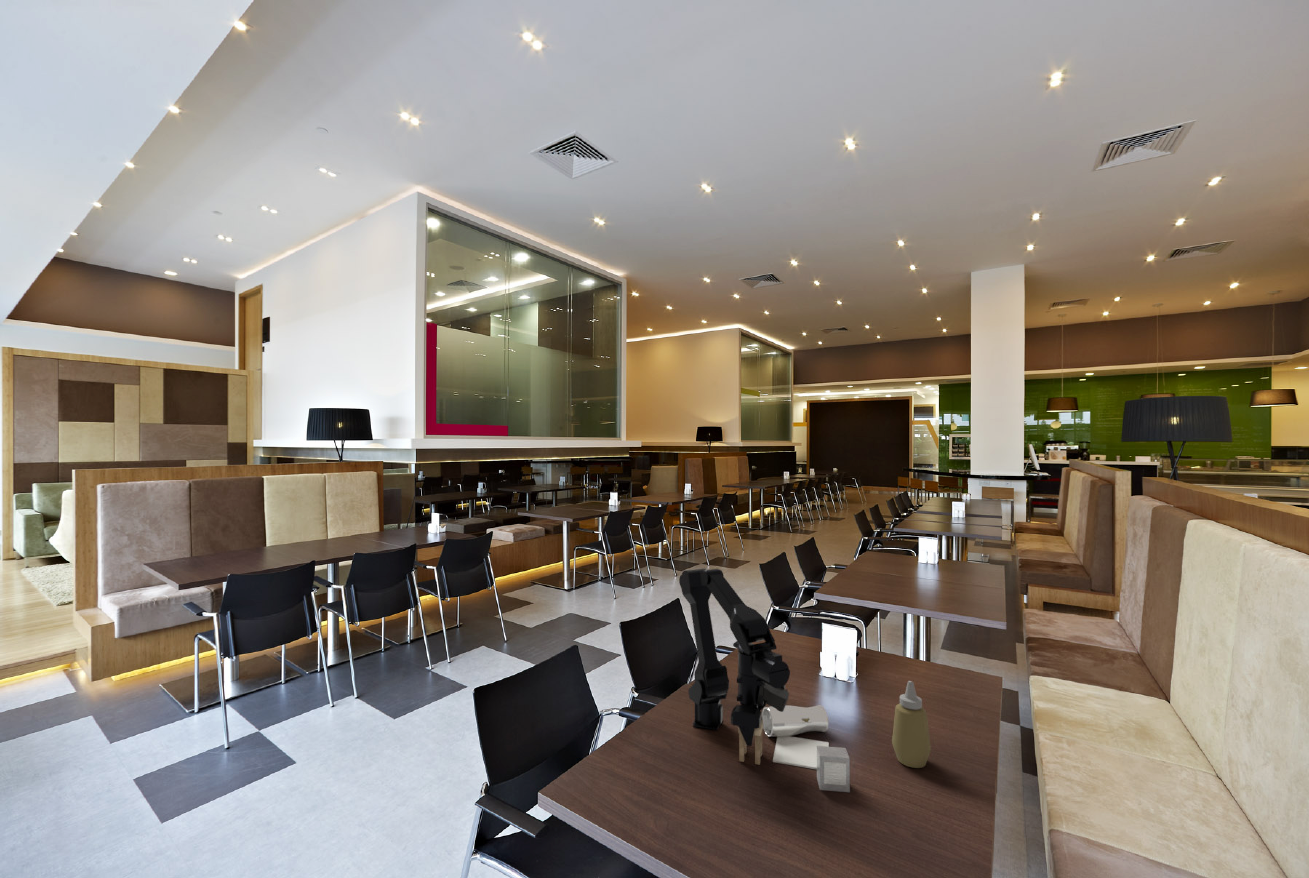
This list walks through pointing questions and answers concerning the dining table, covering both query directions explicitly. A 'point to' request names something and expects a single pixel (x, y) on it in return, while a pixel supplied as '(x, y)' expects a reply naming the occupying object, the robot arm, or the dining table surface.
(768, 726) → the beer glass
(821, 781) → the napkin dispenser
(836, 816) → the dining table surface
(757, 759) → the stool
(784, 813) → the dining table surface
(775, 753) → the felt pad
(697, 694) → the robot arm
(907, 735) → the squeeze bottle
